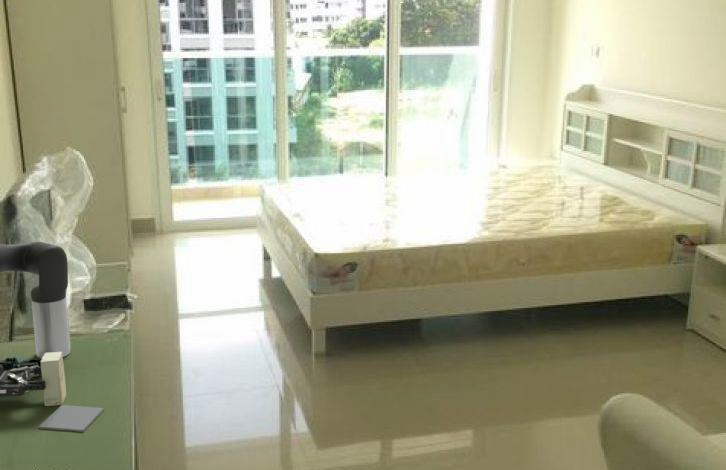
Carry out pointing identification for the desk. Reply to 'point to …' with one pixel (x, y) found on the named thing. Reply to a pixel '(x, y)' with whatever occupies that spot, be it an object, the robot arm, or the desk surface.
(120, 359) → the desk surface
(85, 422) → the grey flat square slab
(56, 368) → the skincare box
